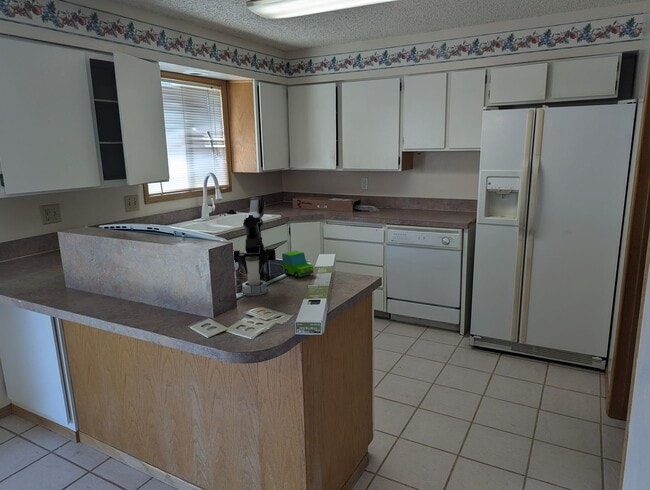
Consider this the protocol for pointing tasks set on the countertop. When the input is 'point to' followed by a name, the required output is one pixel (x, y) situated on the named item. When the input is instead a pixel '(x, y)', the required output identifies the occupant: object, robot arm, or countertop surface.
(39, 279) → the countertop surface
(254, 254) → the robot arm
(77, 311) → the countertop surface
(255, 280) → the white cylinder
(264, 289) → the grey octagonal ring
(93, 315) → the countertop surface
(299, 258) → the toy car
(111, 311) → the countertop surface
